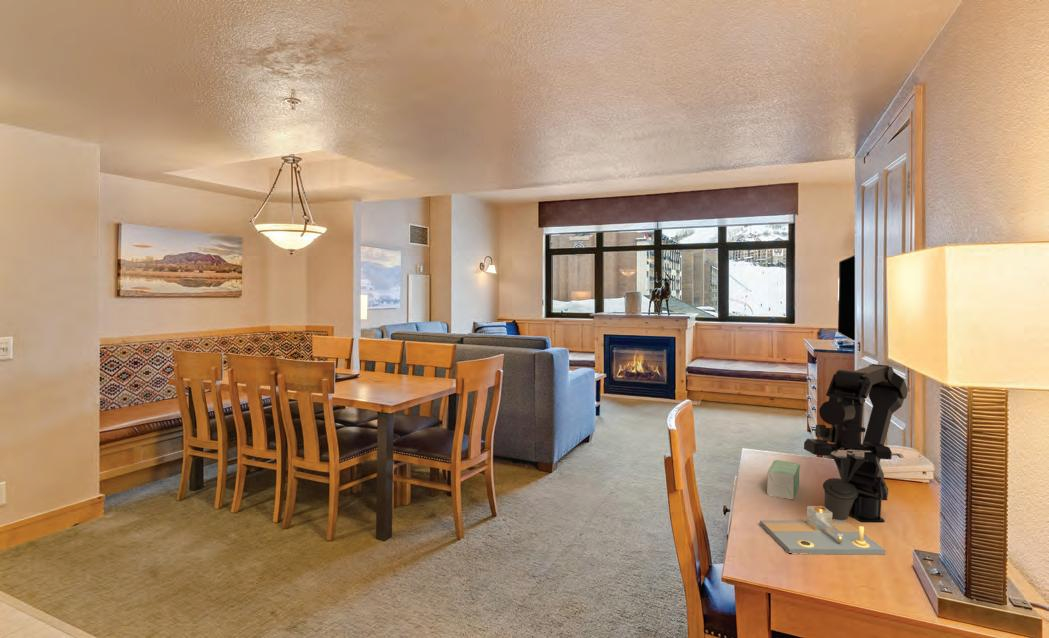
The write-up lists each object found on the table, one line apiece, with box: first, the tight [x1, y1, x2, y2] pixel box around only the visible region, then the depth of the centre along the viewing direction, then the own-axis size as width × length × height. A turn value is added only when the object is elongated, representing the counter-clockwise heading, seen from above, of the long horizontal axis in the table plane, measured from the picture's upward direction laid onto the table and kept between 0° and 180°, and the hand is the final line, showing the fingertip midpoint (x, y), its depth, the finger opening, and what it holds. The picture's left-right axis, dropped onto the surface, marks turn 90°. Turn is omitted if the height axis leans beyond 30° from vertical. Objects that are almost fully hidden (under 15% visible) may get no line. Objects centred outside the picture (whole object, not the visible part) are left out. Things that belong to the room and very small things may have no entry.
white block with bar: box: [806, 505, 843, 543], centre depth 128 cm, size 4×11×5 cm, turn 0°
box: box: [766, 459, 801, 500], centre depth 159 cm, size 7×14×8 cm, turn 147°
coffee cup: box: [822, 477, 858, 521], centre depth 140 cm, size 8×8×10 cm
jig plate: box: [759, 519, 886, 556], centre depth 128 cm, size 22×15×5 cm
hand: (844, 482), depth 132 cm, fingers closed
